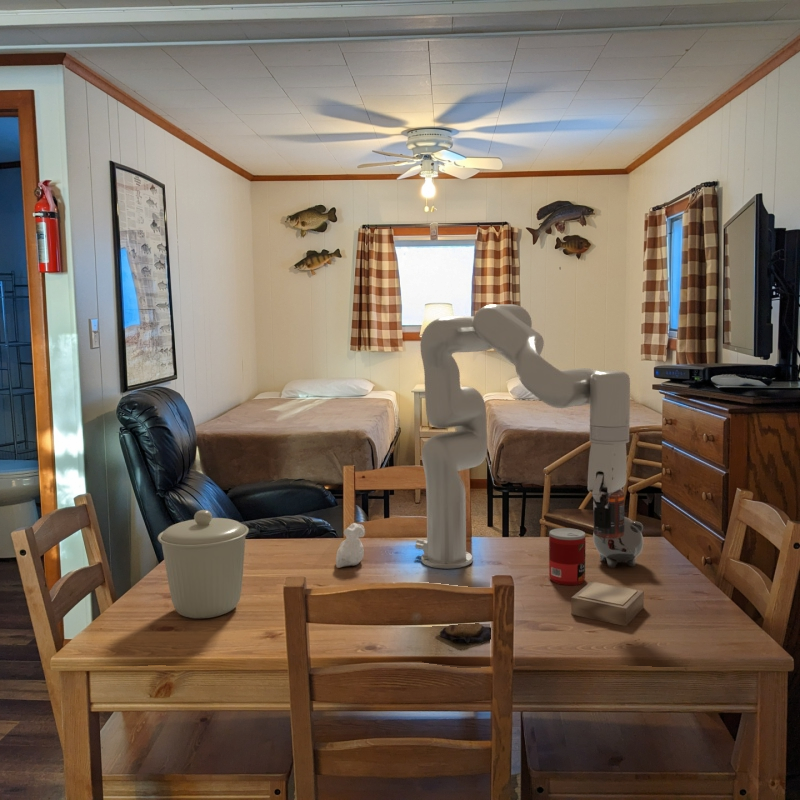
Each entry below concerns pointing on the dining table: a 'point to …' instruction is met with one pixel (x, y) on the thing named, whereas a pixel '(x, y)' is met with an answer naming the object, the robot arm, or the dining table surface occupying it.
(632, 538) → the piggy bank
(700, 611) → the dining table surface
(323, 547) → the dining table surface
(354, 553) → the bust
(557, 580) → the canned food
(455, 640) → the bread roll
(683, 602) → the dining table surface
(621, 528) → the supplement bottle
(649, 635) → the dining table surface
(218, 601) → the canister
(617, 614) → the base
